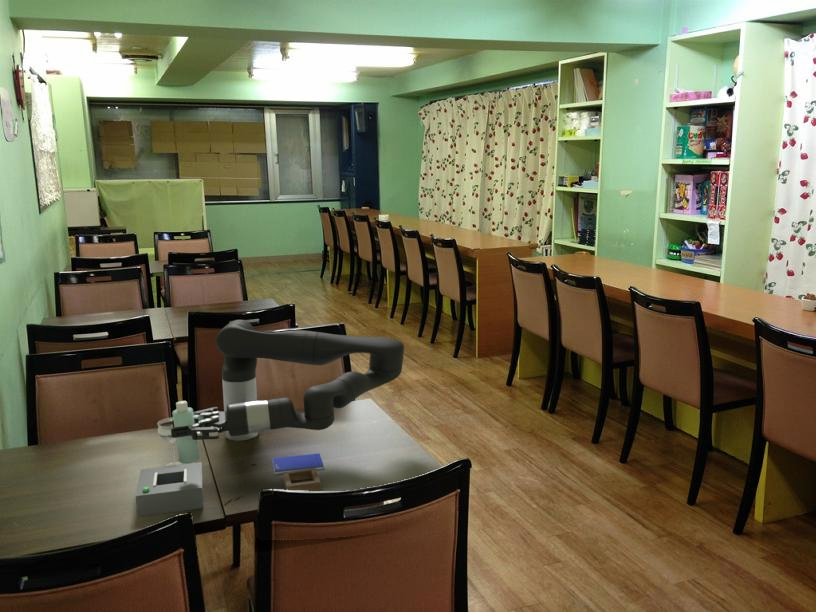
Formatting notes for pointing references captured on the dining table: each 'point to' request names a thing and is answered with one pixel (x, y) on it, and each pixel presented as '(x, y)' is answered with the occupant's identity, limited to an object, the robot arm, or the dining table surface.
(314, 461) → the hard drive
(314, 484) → the box
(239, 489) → the dining table surface
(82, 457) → the dining table surface
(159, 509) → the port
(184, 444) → the mint green bottle
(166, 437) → the wineglass
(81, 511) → the dining table surface
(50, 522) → the dining table surface
